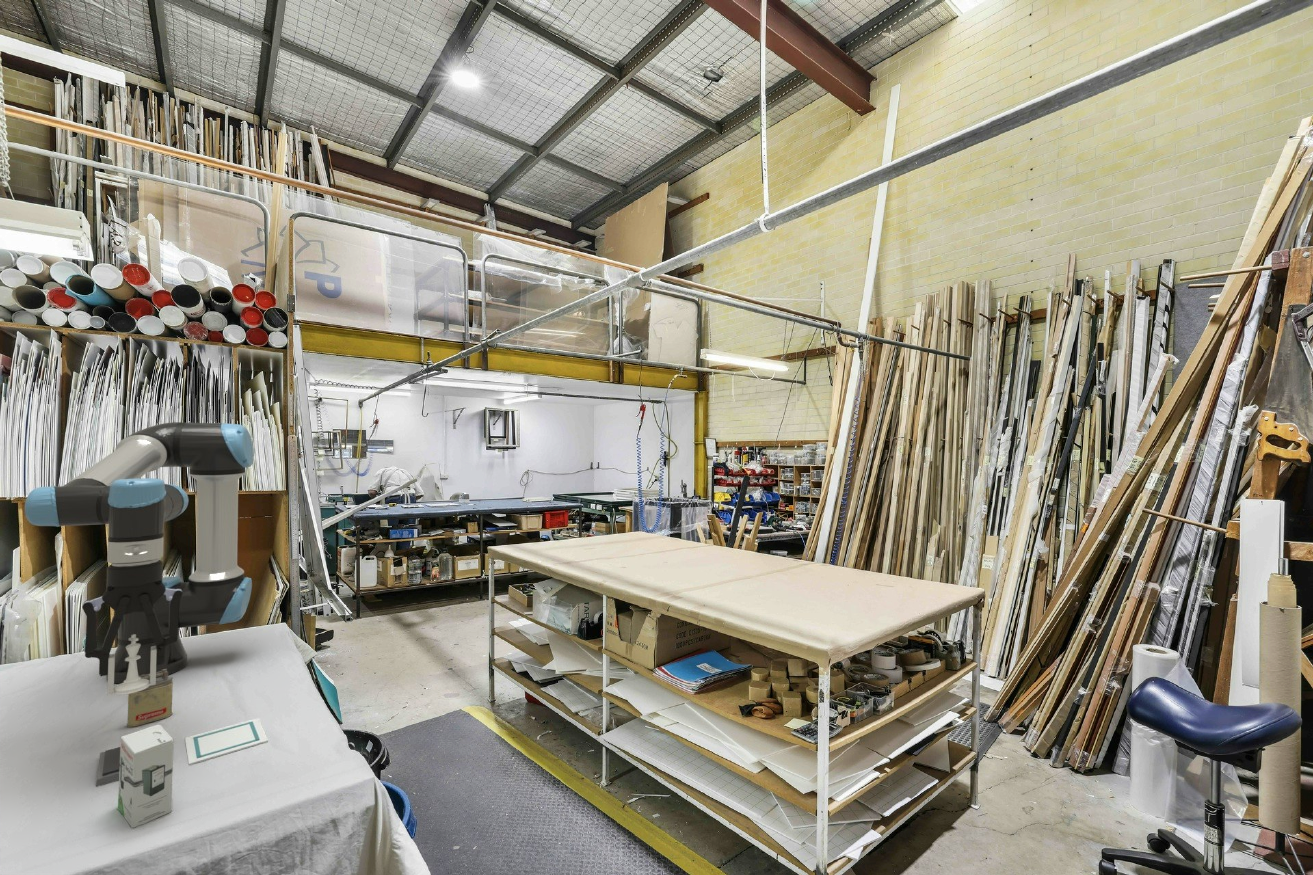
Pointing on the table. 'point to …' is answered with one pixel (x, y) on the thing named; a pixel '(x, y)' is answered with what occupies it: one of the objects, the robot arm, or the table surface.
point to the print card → (224, 741)
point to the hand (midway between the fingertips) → (132, 686)
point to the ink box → (145, 775)
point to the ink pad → (108, 766)
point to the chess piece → (132, 671)
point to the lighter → (151, 701)
